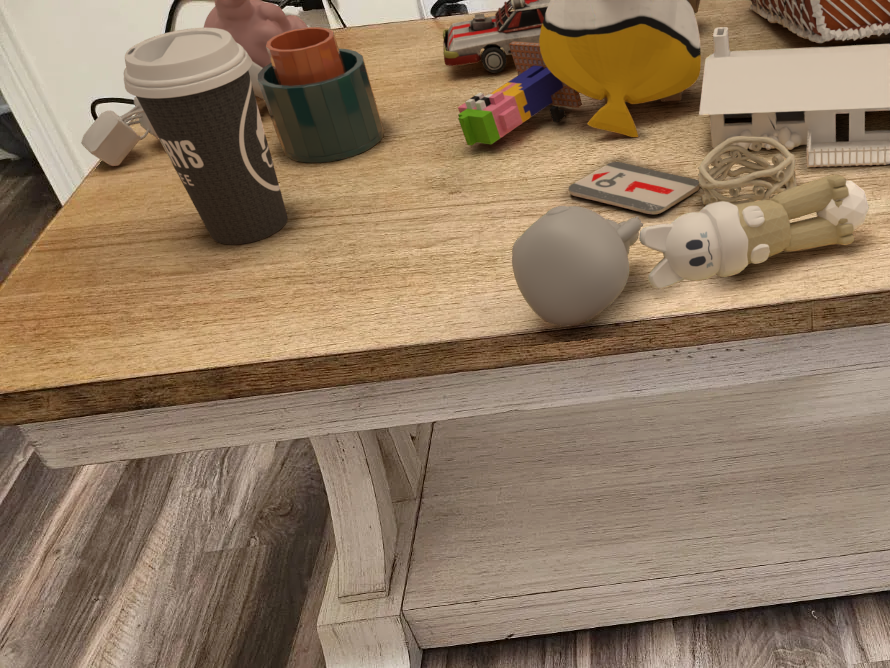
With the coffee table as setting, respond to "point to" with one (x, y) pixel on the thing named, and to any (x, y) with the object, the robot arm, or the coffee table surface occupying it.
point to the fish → (621, 52)
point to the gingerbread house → (827, 17)
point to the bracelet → (745, 171)
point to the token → (634, 187)
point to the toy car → (494, 34)
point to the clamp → (130, 129)
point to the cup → (305, 56)
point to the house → (800, 98)
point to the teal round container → (324, 113)
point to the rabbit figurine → (754, 230)
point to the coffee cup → (210, 129)
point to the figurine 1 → (252, 24)
